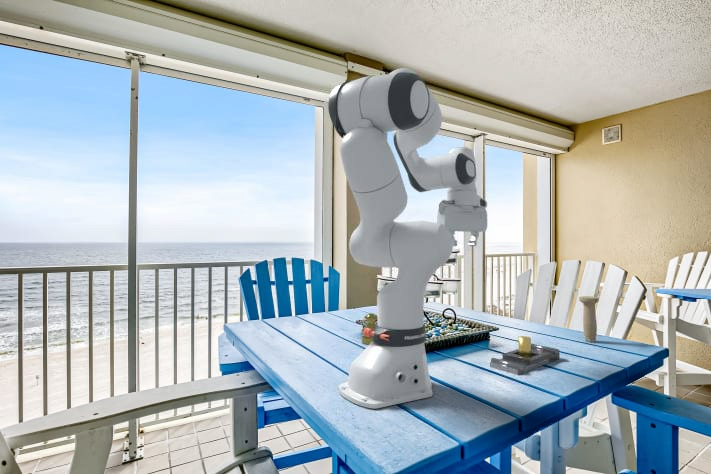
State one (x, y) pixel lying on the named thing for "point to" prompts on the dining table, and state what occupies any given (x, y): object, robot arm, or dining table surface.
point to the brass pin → (524, 346)
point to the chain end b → (534, 355)
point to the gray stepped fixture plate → (514, 365)
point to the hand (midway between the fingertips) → (463, 246)
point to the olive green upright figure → (371, 325)
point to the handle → (589, 317)
